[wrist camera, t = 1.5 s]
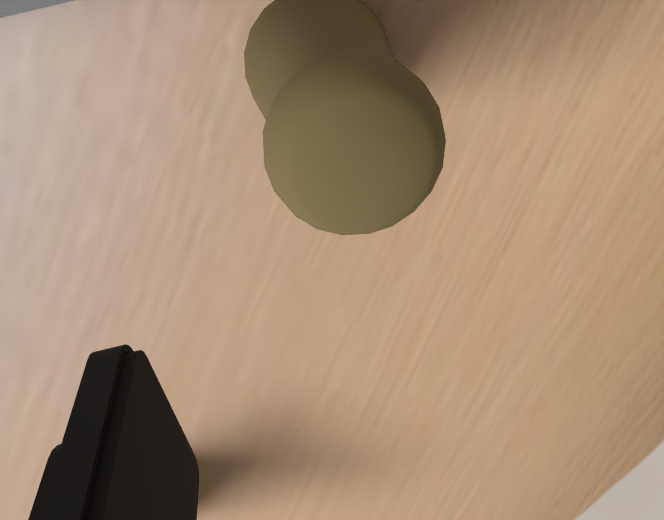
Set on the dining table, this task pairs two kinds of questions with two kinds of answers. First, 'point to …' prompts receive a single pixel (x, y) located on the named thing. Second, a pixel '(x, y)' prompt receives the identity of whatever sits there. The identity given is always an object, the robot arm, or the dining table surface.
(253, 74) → the cork
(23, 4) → the mat
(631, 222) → the dining table surface
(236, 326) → the dining table surface
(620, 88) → the dining table surface
